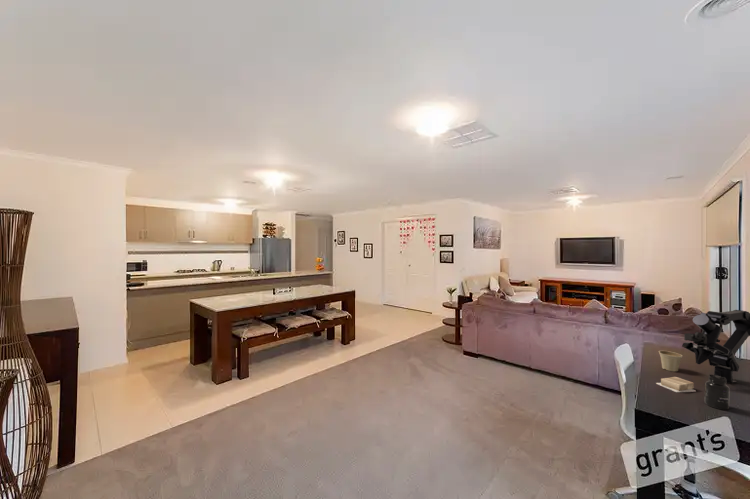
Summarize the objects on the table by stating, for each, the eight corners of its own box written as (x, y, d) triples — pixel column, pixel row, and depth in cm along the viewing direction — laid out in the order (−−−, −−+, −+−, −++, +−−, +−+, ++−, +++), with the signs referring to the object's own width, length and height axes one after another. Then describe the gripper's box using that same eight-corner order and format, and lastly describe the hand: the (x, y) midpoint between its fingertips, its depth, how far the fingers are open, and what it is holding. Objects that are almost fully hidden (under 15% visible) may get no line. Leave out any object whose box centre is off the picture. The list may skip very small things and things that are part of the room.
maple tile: (675, 376, 150) (660, 378, 147) (693, 382, 143) (679, 385, 140) (675, 382, 150) (660, 384, 147) (693, 388, 143) (679, 391, 140)
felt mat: (674, 383, 150) (674, 382, 150) (695, 391, 141) (695, 390, 141) (656, 383, 149) (656, 382, 149) (676, 392, 140) (676, 391, 140)
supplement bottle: (725, 411, 123) (726, 381, 123) (701, 404, 129) (702, 375, 129) (731, 408, 126) (732, 378, 126) (708, 400, 132) (708, 372, 132)
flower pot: (687, 373, 162) (687, 357, 162) (666, 372, 164) (666, 355, 164) (673, 367, 171) (674, 351, 171) (653, 365, 173) (654, 350, 173)
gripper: (676, 326, 162) (664, 353, 160) (708, 325, 144) (695, 355, 142) (700, 338, 159) (688, 365, 157) (735, 339, 142) (723, 369, 139)
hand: (697, 363), depth 149 cm, fingers closed
